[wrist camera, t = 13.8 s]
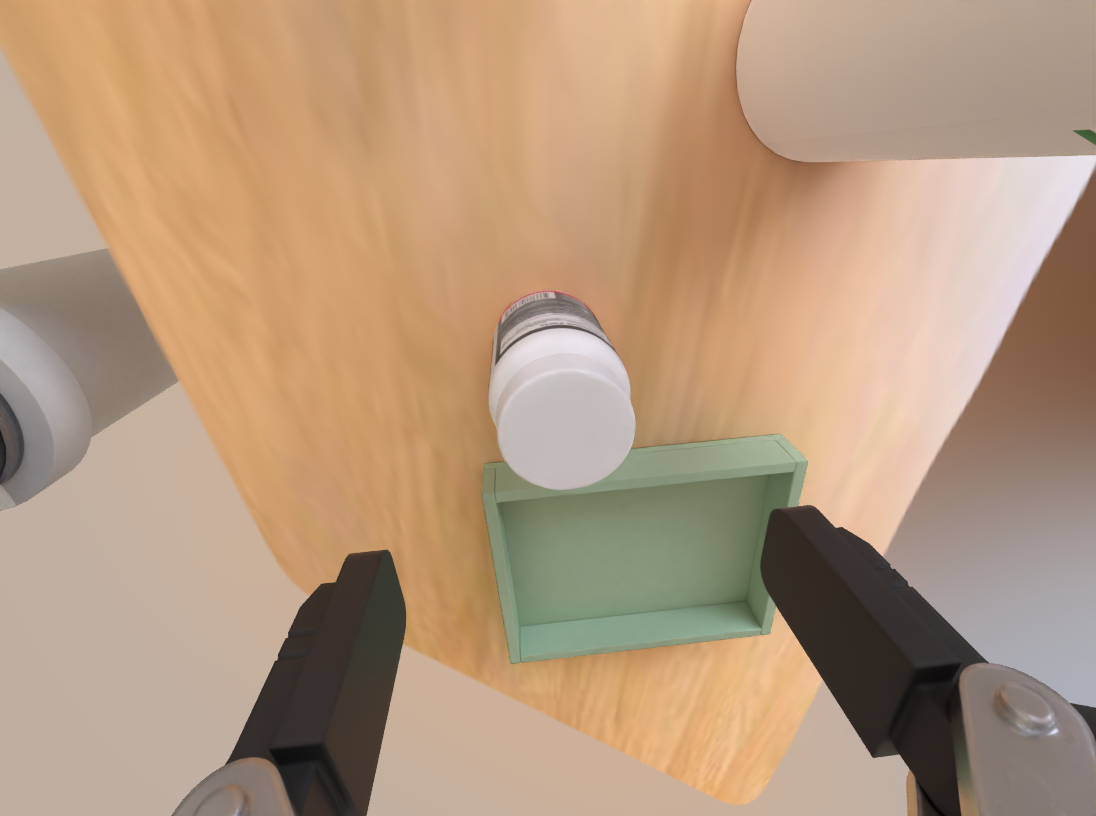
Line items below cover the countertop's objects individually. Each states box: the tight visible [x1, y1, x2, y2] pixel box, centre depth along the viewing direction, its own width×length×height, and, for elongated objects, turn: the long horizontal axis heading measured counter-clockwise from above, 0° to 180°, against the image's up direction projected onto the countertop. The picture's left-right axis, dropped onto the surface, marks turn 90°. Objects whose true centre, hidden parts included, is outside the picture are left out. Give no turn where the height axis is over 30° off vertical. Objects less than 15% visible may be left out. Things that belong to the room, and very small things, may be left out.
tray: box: [482, 434, 808, 664], centre depth 25 cm, size 15×12×2 cm
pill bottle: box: [488, 290, 636, 490], centre depth 17 cm, size 5×5×8 cm
